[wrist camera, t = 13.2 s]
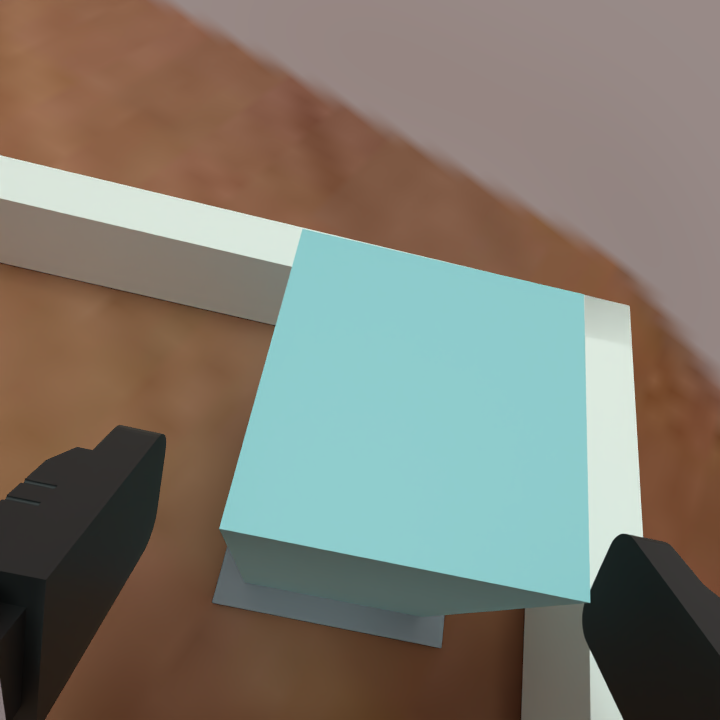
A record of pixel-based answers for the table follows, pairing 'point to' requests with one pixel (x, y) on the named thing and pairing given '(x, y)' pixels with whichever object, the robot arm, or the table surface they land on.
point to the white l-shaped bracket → (262, 303)
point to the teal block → (416, 438)
